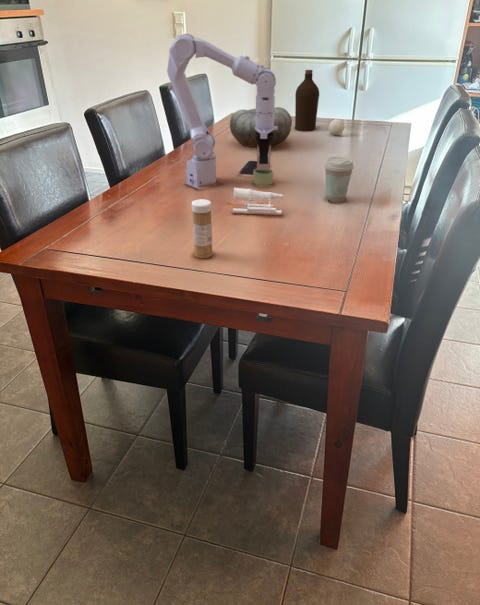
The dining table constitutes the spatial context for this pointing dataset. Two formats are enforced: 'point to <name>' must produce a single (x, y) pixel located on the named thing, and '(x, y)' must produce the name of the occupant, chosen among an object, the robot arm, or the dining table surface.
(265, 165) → the rectangular block
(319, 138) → the dining table surface
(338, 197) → the coffee cup
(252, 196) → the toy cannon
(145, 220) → the dining table surface
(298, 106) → the olive oil
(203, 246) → the sprinkles bottle
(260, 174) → the cup
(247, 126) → the gourd
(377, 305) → the dining table surface
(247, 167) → the phone
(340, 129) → the baseball
